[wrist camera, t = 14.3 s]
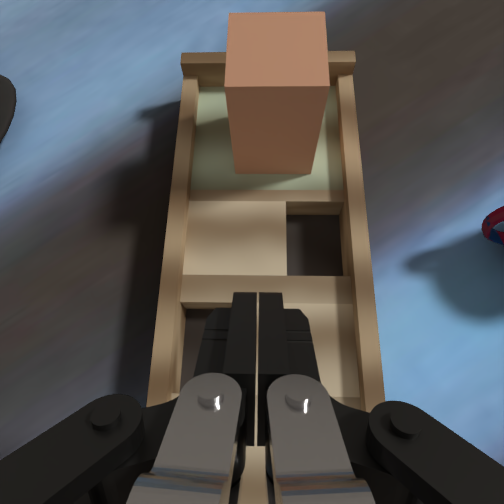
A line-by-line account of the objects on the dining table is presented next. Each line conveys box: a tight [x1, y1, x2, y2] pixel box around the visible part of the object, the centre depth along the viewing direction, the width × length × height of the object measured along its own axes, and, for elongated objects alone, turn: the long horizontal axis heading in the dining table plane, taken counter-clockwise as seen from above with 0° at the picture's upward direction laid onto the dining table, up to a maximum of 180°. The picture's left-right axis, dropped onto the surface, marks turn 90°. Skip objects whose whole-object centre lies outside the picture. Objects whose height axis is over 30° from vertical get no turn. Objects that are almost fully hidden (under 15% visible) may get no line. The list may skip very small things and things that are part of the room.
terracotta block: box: [224, 12, 330, 174], centre depth 26 cm, size 6×6×9 cm
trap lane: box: [146, 51, 385, 504], centre depth 26 cm, size 38×14×5 cm, turn 179°
